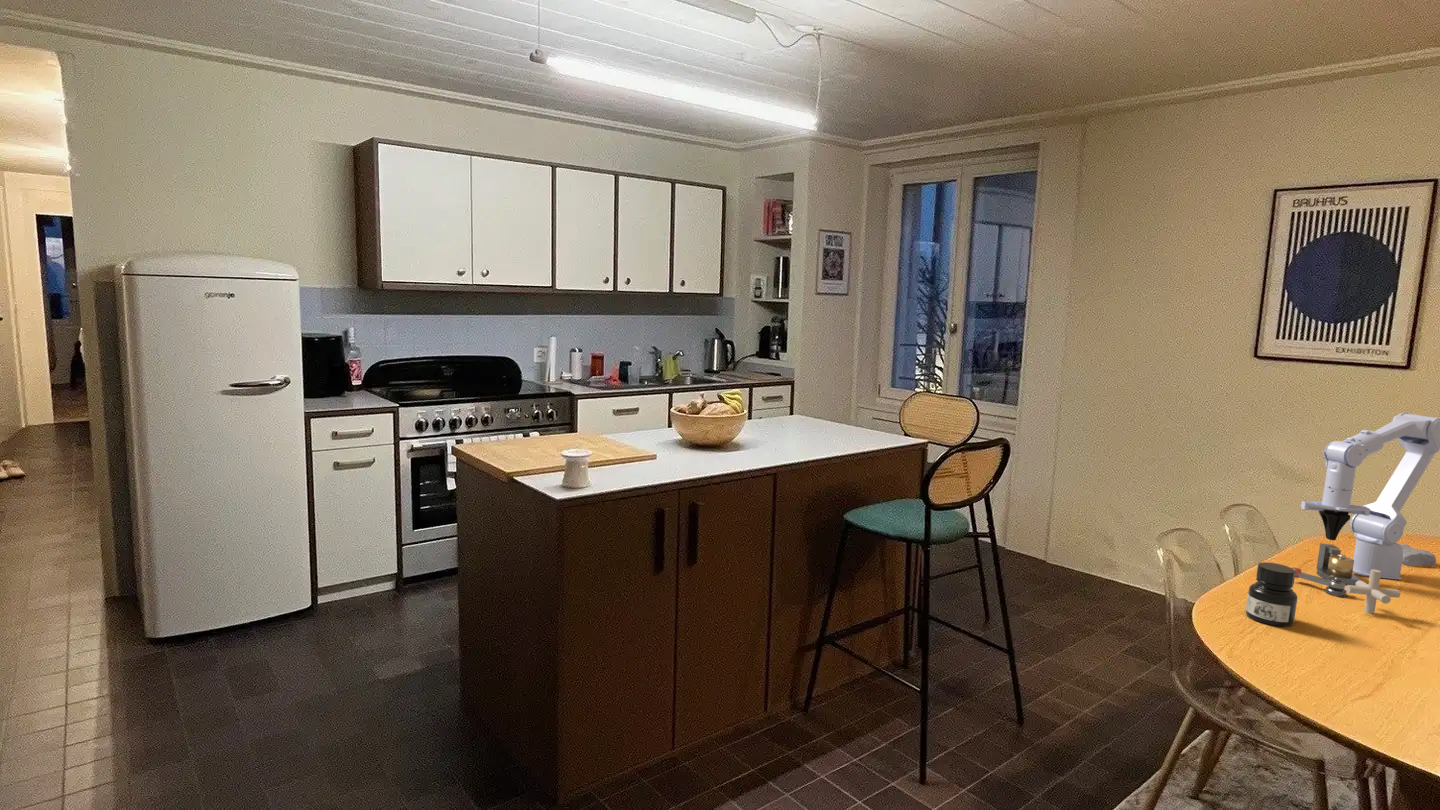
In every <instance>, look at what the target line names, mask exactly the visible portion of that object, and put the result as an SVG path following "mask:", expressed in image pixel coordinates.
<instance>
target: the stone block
mask: <svg viewBox="0 0 1440 810" xmlns="http://www.w3.org/2000/svg"><path fill="white" fill-rule="evenodd" d="M1398 544H1399V543H1398ZM1399 545H1400V546H1401V547H1402V550H1403V560H1402V564H1403V565H1402V566H1404V565H1407V566H1406V567H1409V566H1434V567H1435V566H1436V564H1437V559H1436V556H1435V554H1434V553H1432V552H1431V551H1430V550H1426V549H1420V548H1419V549H1418V548H1413V547H1410V545H1409V544H1406V543H1403V544H1401V543H1400V544H1399Z"/></svg>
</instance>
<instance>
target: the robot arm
mask: <svg viewBox="0 0 1440 810" xmlns="http://www.w3.org/2000/svg"><path fill="white" fill-rule="evenodd" d="M1393 440H1397V441H1398V442H1399V445H1400V446H1401V447H1403V449H1405V454H1404V455H1403V457H1402V459H1401V460H1400V462H1398V464H1397V467H1396V468H1395V469H1394V471H1393V473H1392V474H1391V476H1390V478H1389V479H1388V481H1387V482H1386V484H1385V486H1384V488H1383V489H1382V491H1381V493H1380V494H1379V496H1378V497H1377V499H1376V501H1374V502H1372V503H1371V502H1370V503H1368V504H1364V505H1355V504H1351V503H1352V502H1351V501H1352V496H1353V489H1354V482H1355V476H1356V470H1357V467H1359V466H1360V465H1361V464H1362V463H1363V462H1364V460H1365V459H1366V458H1367V457H1368V456H1370V455H1373V454H1374V453H1377V452H1379V451H1381V450H1382V449H1383V447H1384V444H1386V443H1389V442H1391V441H1393ZM1439 451H1440V417H1434V416H1433V417H1432V416H1427V415H1426V416H1425V415H1419V414H1414V413H1409V412H1400V413H1398V414H1396V415H1394V417H1393V418H1392V421H1390V422H1389V423H1387V424H1386V425H1383V426H1381V427H1380V428H1378V429H1376V430H1374V431H1373V430H1369V429H1368V430H1367V429H1362V430H1360V432H1358V433H1357V434H1355V435H1353V436H1351V437H1350V436H1349V437H1347V438H1346V439H1344V440H1342V441H1339V440H1333V441H1331V442H1329V443H1328V444H1327V445H1326V446H1325V449H1324V450H1323V452H1322V456H1323V458H1324V460H1325V461H1324V462H1325V464H1324V467H1325V468H1326V474H1325V480H1324V487H1323V494H1322V501H1312V500H1311V501H1309V500H1308V501H1306V500H1305V501H1304V500H1302V501H1301V505H1300V509H1302V510H1304V511H1318V514H1319V516H1320V517H1321V520H1322V524H1323V527H1324V531H1325V538H1326V540H1329V541H1337V537H1338V535H1339V534H1340V532H1341V530H1342V529H1343V527H1344V526H1345V525H1346V524H1347V522H1348V521H1349V528H1350V530H1351V532H1352V533H1353V537H1355V538H1356V540H1355V547H1354V553H1353V558H1352V559H1353V560H1354V566H1353V572H1354V573H1355V574H1356V575H1358V576H1363V577H1370V572H1371V569H1374V570H1379V571H1381V575H1380V579H1381V578H1382V579H1391V580H1398V581H1399V580H1402V577H1401V571H1402V566H1403V565H1402V560H1403V550H1402V547H1401V546H1400V545H1401V544H1400V545H1399V543H1398V542H1399V541H1400V540H1401V538H1402V537H1403V534H1404V530H1405V527H1406V524H1407V522H1408V521H1406V518H1405V516H1403V514H1402V513H1401V510H1402V509H1403V507H1404V505H1405V504H1406V503H1407V500H1408V499H1409V497H1410V495H1411V494H1412V492H1413V491H1414V489H1415V488H1416V486H1417V484H1418V482H1419V481H1420V479H1421V478H1422V476H1423V475H1424V473H1425V471H1426V470H1427V468H1428V466H1429V465H1430V463H1431V462H1432V460H1433V458H1434V456H1435V455H1436V453H1438V452H1439ZM1351 514H1353V515H1352V516H1351ZM1353 572H1352V573H1353Z"/></svg>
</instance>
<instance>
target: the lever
mask: <svg viewBox="0 0 1440 810" xmlns="http://www.w3.org/2000/svg"><path fill="white" fill-rule="evenodd" d="M1291 568H1292V569H1294V570H1295V571H1296V572H1295V578H1296V579H1304V580H1306V581H1310V582H1313V583H1316V584H1320V585H1324V586H1326V587H1328V586H1329V588H1331V589H1335V590H1340V591H1343V590H1346V585H1345V583H1343V582H1336V581H1334V580H1327V579H1324V578H1322V577H1321V576H1316V575H1313V574H1309V573H1305V572H1302V569H1301V568H1299V567H1291Z"/></svg>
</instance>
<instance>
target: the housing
mask: <svg viewBox="0 0 1440 810" xmlns="http://www.w3.org/2000/svg"><path fill="white" fill-rule="evenodd" d="M1353 566H1354V560H1353V558H1349V557H1347V556H1346V555H1345V554H1341V553H1340V554H1339V555H1338V556H1336V555H1331V556H1330V557H1329V564H1328V570H1327V572H1328V573H1329V574H1331V575H1334V576H1338V577H1344V578H1351V577H1352V574H1353Z"/></svg>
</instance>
